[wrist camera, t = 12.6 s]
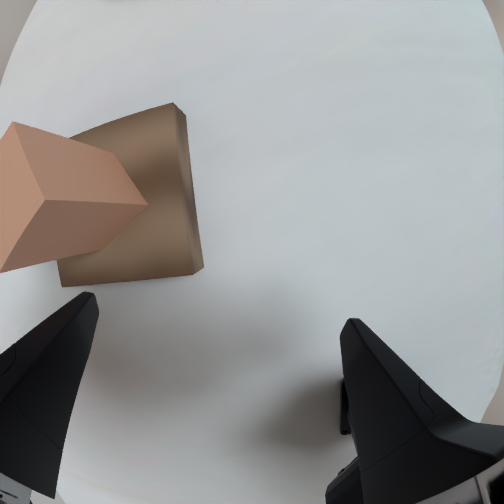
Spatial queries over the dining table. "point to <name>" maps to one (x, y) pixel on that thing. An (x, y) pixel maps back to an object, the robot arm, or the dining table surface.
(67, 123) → the dining table surface
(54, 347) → the robot arm
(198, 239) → the walnut plinth
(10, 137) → the terracotta block
